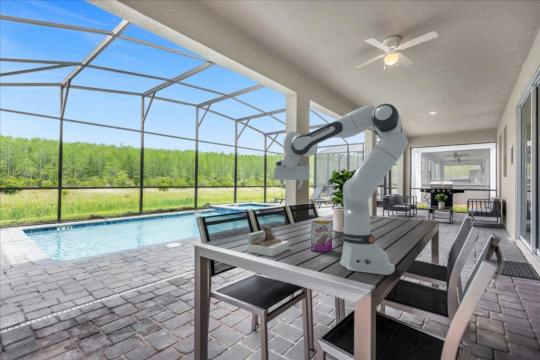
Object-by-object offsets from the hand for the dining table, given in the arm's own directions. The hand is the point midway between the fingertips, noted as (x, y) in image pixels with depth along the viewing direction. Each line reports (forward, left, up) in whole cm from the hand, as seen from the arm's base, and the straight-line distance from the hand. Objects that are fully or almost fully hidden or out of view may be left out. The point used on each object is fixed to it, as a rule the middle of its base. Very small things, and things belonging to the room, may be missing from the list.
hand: (291, 188), depth 142 cm
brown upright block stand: (+10, +8, -29) cm, 32 cm away
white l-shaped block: (+9, +7, -33) cm, 35 cm away
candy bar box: (-14, -8, -33) cm, 37 cm away
